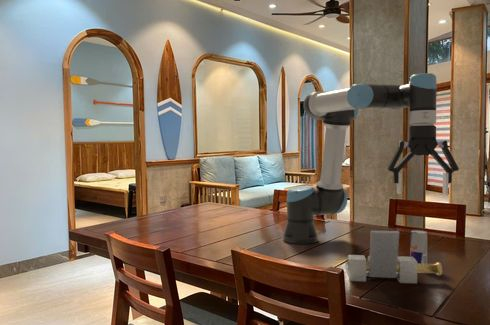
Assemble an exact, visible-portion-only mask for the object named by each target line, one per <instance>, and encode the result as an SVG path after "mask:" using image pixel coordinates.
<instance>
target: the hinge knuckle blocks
mask: <svg viewBox="0 0 490 325" xmlns="http://www.w3.org/2000/svg"><path fill="white" fill-rule="evenodd" d="M366 262H367V258H366V257H365V255H364V254H363V255H362V254H361V255H360V254H348V255H347V265H345V271H346V273H347V276H348V280H349V282H367V277H369V274H368V271H366ZM397 263H400V272H396V279H397V281H398V282H399V283H400V284H418V273H417V261H416V259H415V258H414V257H410V256H399V255H398V258H397Z"/></svg>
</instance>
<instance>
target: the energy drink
mask: <svg viewBox="0 0 490 325" xmlns="http://www.w3.org/2000/svg"><path fill="white" fill-rule="evenodd" d="M409 236H410V241H409V242H410V243H409V246H410V248H409V249H410V250H409V251H410V252H409V254H410V255H409V257H414V258H415V259H416V261H417V263H420V264H428V232H427V231H425V230H421V229H413V230H411V231H410V235H409Z"/></svg>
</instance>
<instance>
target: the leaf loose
mask: <svg viewBox="0 0 490 325" xmlns="http://www.w3.org/2000/svg"><path fill="white" fill-rule="evenodd" d="M369 240H370V241H369V242H370V243H369V255H368V256H367V259H366V262H369V271H368V274H369V276H368V277H369V278H383V279H384V278H385V279H386V278H387V279H391V278H392V279H397V277H396V271H397V258H398V256H399V246H400V245H399V244H400V243H399V242H400V231H399V230H370V239H369Z"/></svg>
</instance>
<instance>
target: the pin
mask: <svg viewBox="0 0 490 325" xmlns="http://www.w3.org/2000/svg"><path fill="white" fill-rule="evenodd" d="M366 271H369V262H367V261H366ZM396 272H400V263H397V271H396ZM417 274H435V276H442V275H443V265H442V262H434V263H427V264H420V263H417Z"/></svg>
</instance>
